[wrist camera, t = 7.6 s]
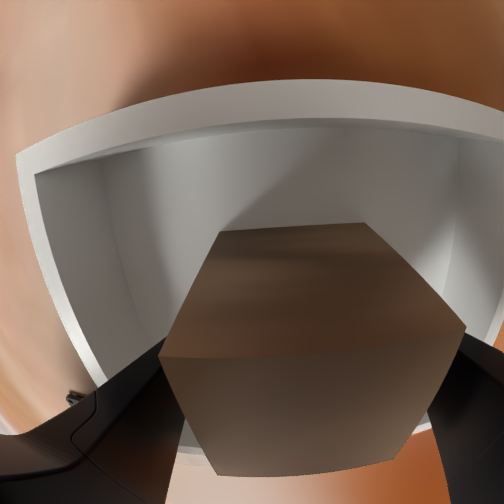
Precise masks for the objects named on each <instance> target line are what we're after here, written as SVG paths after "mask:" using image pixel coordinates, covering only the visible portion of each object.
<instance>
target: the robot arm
mask: <svg viewBox="0 0 504 504" xmlns="http://www.w3.org/2000/svg"><path fill="white" fill-rule="evenodd" d="M166 338H167V336H166V337H165V338H163V339H162V340H161V341H160V342H158V343H157V344H156V345H154V346H153V347H152V348H150V349H149V350H148V351H146V352H145V353H144V354H142V355H141V356H140V357H138V358H137V359H136V360H134V361H133V362H132V363H130V364H129V365H128V366H126V367H125V368H124V369H122V370H121V371H120V372H118V373H117V374H116V375H114V376H113V377H112V378H110V379H109V380H108V381H106V382H105V383H104V384H102V385H101V386H100V387H98V388H97V389H96V391H95V390H94V391H93V392H91V393H90V394H89V395H87V396H86V397H85V398H81V397H77V396H74V395H70V394H68V395H67V397H66V400H67V401H68V403H69V404H70V405H71V407H70V408H68V409H67V410H65V411H63V412H62V413H60V414H59V415H57V416H55V417H53V418H52V419H50V420H48V421H46V422H45V423H43V424H41V425H39V426H38V427H36V428H34V429H32V430H30V431H28V432H26V433H23V434H19V435H2V434H0V504H165V501H166V496H167V492H168V488H169V483H170V479H171V474H172V470H173V466H174V462H175V458H176V454H177V450H178V446H179V442H180V437H181V433H182V429H183V425H184V421H185V416H184V414H183V412H182V410H181V408H180V406H179V404H178V401H177V399H176V397H175V395H174V393H173V391H172V388H171V386H170V384H169V381H168V379H167V377H166V375H165V372H164V370H163V367H162V365H161V362H160V360H159V357H158V355H159V353H160V350H161V348H162V346H163V344H164V342H165V340H166ZM427 414H428V417H429V420H430V423H431V426H432V429H433V433H434V436H435V439H436V443H437V446H438V450H439V453H440V456H441V460H442V464H443V468H444V472H445V477H446V481H447V484H448V485H447V486H448V491H449V496H450V501H451V504H504V353H503V352H502V351H500V350H498V349H496V348H494V347H492V346H490V345H489V344H487V343H485V342H483V341H481V340H479V339H477V338H475V337H473V336H471V335H469V334H468V333H466V332H465V333H464V335H463V338H462V341H461V343H460V345H459V348H458V350H457V352H456V355H455V357H454V359H453V361H452V364H451V366H450V368H449V370H448V372H447V374H446V376H445V378H444V380H443V382H442V384H441V386H440V388H439V390H438V392H437V393H436V395H435V397H434V399H433V401H432V402H431V404H430V406H429V408H428V409H427Z"/></svg>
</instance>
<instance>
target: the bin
mask: <svg viewBox="0 0 504 504" xmlns="http://www.w3.org/2000/svg"><path fill="white" fill-rule="evenodd" d="M15 155H16V164H17V172H18V179H19V185H20V191H21V196H22V202H23V206H24V211H25V216H26V220H27V224H28V228H29V232H30V236H31V239H32V243H33V246H34V250H35V253H36V256H37V259H38V262H39V265H40V268H41V271H42V274H43V277H44V280H45V282H46V285H47V288H48V290H49V293H50V295H51V298H52V300H53V303H54V305H55V307H56V310H57V312H58V314H59V316H60V319H61V321H62V323H63V325H64V327H65V329H66V331H67V333H68V335H69V338H70V339H71V341H72V343H73V345H74V347H75V349H76V351H77V353H78V355H79V357H80V358H81V360H82V362H83V364H84V365H85V367H86V369H87V371H88V372H89V374H90V376H91V377H92V379H93V381H94V382H95V384H96V385H97V387H100V386H101V385H102V384H104V383H105V382H106V381H108V380H109V379H110V378H112V377H113V376H114V375H116V374H117V373H118V372H120V371H121V370H122V369H124V368H125V367H126V366H128V365H129V364H130V363H132V362H133V361H134V360H136V359H137V358H138V357H140V356H141V355H142V354H144V353H145V352H146V351H148V350H149V349H150V348H152V347H153V346H154V345H156V344H157V343H158V342H160V341H161V340H162V339H163V338H165V337H166V336H167V335H168V333H169V331H170V329H171V327H172V325H173V323H174V321H175V319H176V317H177V314H178V312H179V310H180V308H181V306H182V304H183V302H184V300H185V298H186V296H187V294H188V292H189V290H190V288H191V286H192V284H193V282H194V280H195V278H196V276H197V274H198V272H199V270H200V268H201V266H202V264H203V262H204V260H205V258H206V256H207V254H208V252H209V251H210V249H211V247H212V245H213V243H214V241H215V239H216V237H217V235H218V233H219V231H231V230H244V229H258V228H273V227H288V226H304V225H322V224H341V223H361V222H365V223H366V224H367V225H368V226H369V227H370V228H372V229H373V230H374V231H375V232H376V233H377V234H378V235H379V236H380V237H381V238H383V239H384V240H385V241H386V242H387V243H388V244H389V245H390V246H391V247H392V248H393V249H394V250H395V251H396V252H397V253H398V254H400V255H401V256H402V257H403V258H404V259H405V260H406V261H407V262H408V263H409V264H410V265H411V266H412V267H413V268H414V269H415V270H416V271H417V272H418V273H419V274H420V275H421V276H422V277H423V278H424V279H425V281H426V282H427V283H428V284H429V285H430V286H431V287H432V288H433V289H434V290H435V291H436V292H437V293H438V294H439V295H440V297H441V298H442V299H443V300H444V301H445V302H446V303H447V304H448V305H449V307H450V308H451V309H452V310H453V311H454V312H455V313H456V315H457V316H458V317H459V318H460V319H461V320H462V322H463V323H464V324H465V325H466V326H467V328H466V330H465V332H466V333H468V334H469V335H471V336H473V337H475V338H477V339H479V340H481V341H483V342H485V343H487V344H489V345H490V346H493V344H494V342H495V339H496V337H497V335H498V333H499V330H500V328H501V325H502V323H503V320H504V112H502V111H500V110H497V109H494V108H491V107H488V106H485V105H482V104H479V103H476V102H472V101H469V100H466V99H462V98H458V97H454V96H450V95H446V94H442V93H438V92H433V91H428V90H423V89H418V88H412V87H406V86H400V85H393V84H385V83H376V82H366V81H352V80H331V79H294V80H273V81H259V82H249V83H239V84H231V85H224V86H217V87H211V88H205V89H199V90H194V91H188V92H183V93H179V94H174V95H170V96H165V97H161V98H157V99H153V100H149V101H146V102H142V103H139V104H135V105H132V106H128V107H125V108H122V109H119V110H116V111H113V112H110V113H107V114H104V115H101V116H98V117H95V118H93V119H90V120H87V121H85V122H82V123H80V124H77V125H75V126H72V127H70V128H68V129H65V130H63V131H61V132H59V133H56V134H54V135H52V136H50V137H48V138H46V139H44V140H42V141H40V142H38V143H36V144H34V145H32V146H30V147H28V148H26V149H24V150H22V151H20V152H19V153H17V154H15ZM430 428H432V426H431V423H430V420H429V417H428V414H427V411H426V413H425V414H424V416H423V417H422V419H421V421H420V422H419V424H418V425H417V427H416V428H415V430H414V431H413V433H412V434H415V433H418V432H421V431H424V430H427V429H430ZM412 434H411V435H412ZM177 452H181V453H189V454H198V455H205V454H204V452H203V450H202V448H201V446H200V445H199V443H198V441H197V439H196V437H195V435H194V434H193V432H192V430H191V428H190V426H189V424H188V422H187V420H186V418H185V421H184V425H183V429H182V433H181V437H180V442H179V446H178V450H177Z"/></svg>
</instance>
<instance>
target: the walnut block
mask: <svg viewBox="0 0 504 504" xmlns="http://www.w3.org/2000/svg"><path fill="white" fill-rule="evenodd" d="M466 328H467V326H466V325H465V324H464V323H463V322H462V320H461V319H460V318H459V317H458V316H457V315H456V313H455V312H454V311H453V310H452V309H451V308H450V307H449V305H448V304H447V303H446V302H445V301H444V300H443V299H442V298H441V297H440V295H439V294H438V293H437V292H436V291H435V290H434V289H433V288H432V287H431V286H430V285H429V284H428V283H427V282H426V281H425V279H424V278H423V277H422V276H421V275H420V274H419V273H418V272H417V271H416V270H415V269H414V268H413V267H412V266H411V265H410V264H409V263H408V262H407V261H406V260H405V259H404V258H403V257H402V256H401V255H400V254H398V253H397V252H396V251H395V250H394V249H393V248H392V247H391V246H390V245H389V244H388V243H387V242H386V241H385V240H384V239H383V238H381V237H380V236H379V235H378V234H377V233H376V232H375V231H374V230H373V229H372V228H370V227H369V226H368V225H367V224H366V223H365V222H361V223H341V224H322V225H304V226H288V227H273V228H258V229H244V230H231V231H219V233H218V235H217V237H216V239H215V241H214V243H213V245H212V247H211V249H210V251H209V252H208V254H207V256H206V258H205V260H204V262H203V264H202V266H201V268H200V270H199V272H198V274H197V276H196V278H195V280H194V282H193V284H192V286H191V288H190V290H189V292H188V294H187V296H186V298H185V300H184V302H183V304H182V306H181V308H180V310H179V312H178V314H177V317H176V319H175V321H174V323H173V325H172V327H171V329H170V331H169V333H168V335H167V338H166V340H165V342H164V344H163V346H162V348H161V350H160V353H159V355H158V357H159V360H160V362H161V365H162V367H163V370H164V372H165V375H166V377H167V379H168V381H169V384H170V386H171V388H172V391H173V393H174V395H175V397H176V399H177V401H178V404H179V406H180V408H181V410H182V412H183V414H184V416H185V418H186V420H187V422H188V424H189V426H190V428H191V430H192V432H193V434H194V435H195V437H196V439H197V441H198V443H199V445H200V446H201V448H202V450H203V452H204V454H205V455H206V457H207V459H208V461H209V462H210V464H211V466H212V467H213V469H214V471H215V472H216V474H217V475H220V476H236V477H283V476H299V475H311V474H320V473H327V472H334V471H341V470H347V469H352V468H358V467H362V466H367V465H372V464H376V463H380V462H384V461H388V460H391V459H394V458H395V457H396V455H397V454H398V453H399V451H400V450H401V448H402V447H403V446H404V444H405V443H406V442H407V440H408V439H409V437H410V436H411V434H412V433H413V431H414V430H415V428H416V427H417V425H418V424H419V422H420V421H421V419H422V417H423V416H424V414H425V413H426V411H427V409H428V408H429V406H430V404H431V402H432V401H433V399H434V397H435V395H436V393H437V392H438V390H439V388H440V386H441V384H442V382H443V380H444V378H445V376H446V374H447V372H448V370H449V368H450V366H451V364H452V361H453V359H454V357H455V355H456V352H457V350H458V348H459V345H460V343H461V341H462V338H463V335H464V333H465V330H466Z"/></svg>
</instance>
